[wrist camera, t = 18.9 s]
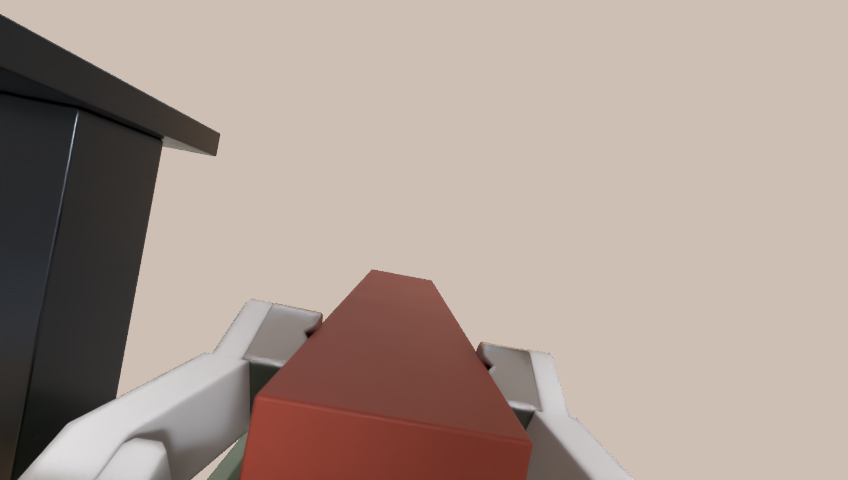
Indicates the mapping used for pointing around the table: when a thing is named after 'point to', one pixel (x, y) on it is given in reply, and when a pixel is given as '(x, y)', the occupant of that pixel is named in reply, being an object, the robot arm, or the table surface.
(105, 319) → the shelf stand
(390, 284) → the red flat bar
